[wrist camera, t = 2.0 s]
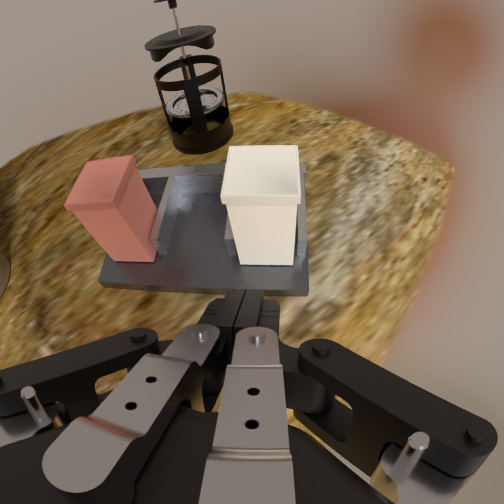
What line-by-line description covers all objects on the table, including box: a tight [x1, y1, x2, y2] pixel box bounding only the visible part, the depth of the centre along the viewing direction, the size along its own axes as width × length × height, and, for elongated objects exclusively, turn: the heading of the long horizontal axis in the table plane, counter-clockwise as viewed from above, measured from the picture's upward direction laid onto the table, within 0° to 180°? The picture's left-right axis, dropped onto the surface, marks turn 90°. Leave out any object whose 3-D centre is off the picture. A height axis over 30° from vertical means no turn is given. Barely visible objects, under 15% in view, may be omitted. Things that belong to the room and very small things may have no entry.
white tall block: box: [220, 145, 301, 265], centre depth 25 cm, size 5×5×10 cm
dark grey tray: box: [98, 163, 309, 296], centre depth 31 cm, size 14×22×4 cm, turn 87°
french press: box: [145, 0, 233, 154], centre depth 33 cm, size 12×9×23 cm
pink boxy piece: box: [64, 155, 158, 262], centre depth 27 cm, size 5×5×10 cm
